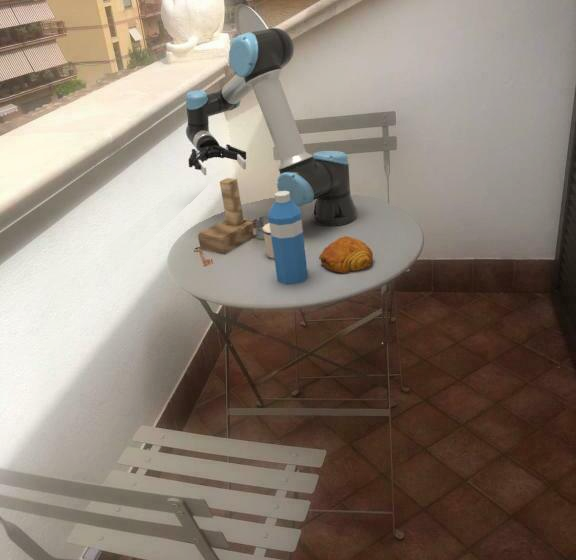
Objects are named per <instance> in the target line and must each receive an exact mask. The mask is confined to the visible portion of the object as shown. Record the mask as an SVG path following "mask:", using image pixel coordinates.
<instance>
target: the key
mask: <svg viewBox="0 0 576 560" xmlns="http://www.w3.org/2000/svg"><path fill="white" fill-rule="evenodd" d="M198 248H199V249H198ZM195 249H196V250H195ZM193 251H194V252H195V251H196V253H199V256H200V258H201V261H202V264H203V266H204V267H207V266H209V265H212V264H214V262H213V258H211V259H205V257H204V256H205V255H204V253H203V251H206V250H205V249H201V248H200V246H198V247H195V248H194V249H193Z"/></svg>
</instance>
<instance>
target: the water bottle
mask: <svg viewBox="0 0 576 560" xmlns="http://www.w3.org/2000/svg"><path fill="white" fill-rule="evenodd" d="M274 198H275V201H274V202H273V204H272V206H271V207H270V210H269V211H268V221H269V222H268V223H269V224H270V231H271V238H272V245H273V252H274V259H273V260H274V264H275V265H274V266H275V272H276V279H277V282H279V283H281V284H284V285H293V284H300V283H302V282H303V280H304V281H305V280H307V279H309V276H308V275H309V274H308V266H307V255H306V250H305V240H304V230H303V222H302V221H303V219H302V213H301V208H300V206H297V205H296V204H295V203H294V202H293V201H292V200H291V199H290V194H289V191H279V190H278V191H277V192H275V193H274Z"/></svg>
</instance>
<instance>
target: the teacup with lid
mask: <svg viewBox="0 0 576 560" xmlns="http://www.w3.org/2000/svg"><path fill="white" fill-rule="evenodd" d="M262 233H263V239H264V245H265V251H266V256H267V258H269V259H272V260H275V259H274V252H273V245H272V238H271V231H270V224H269V222H268V223H266V224H264V225H263V227H262Z"/></svg>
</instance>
